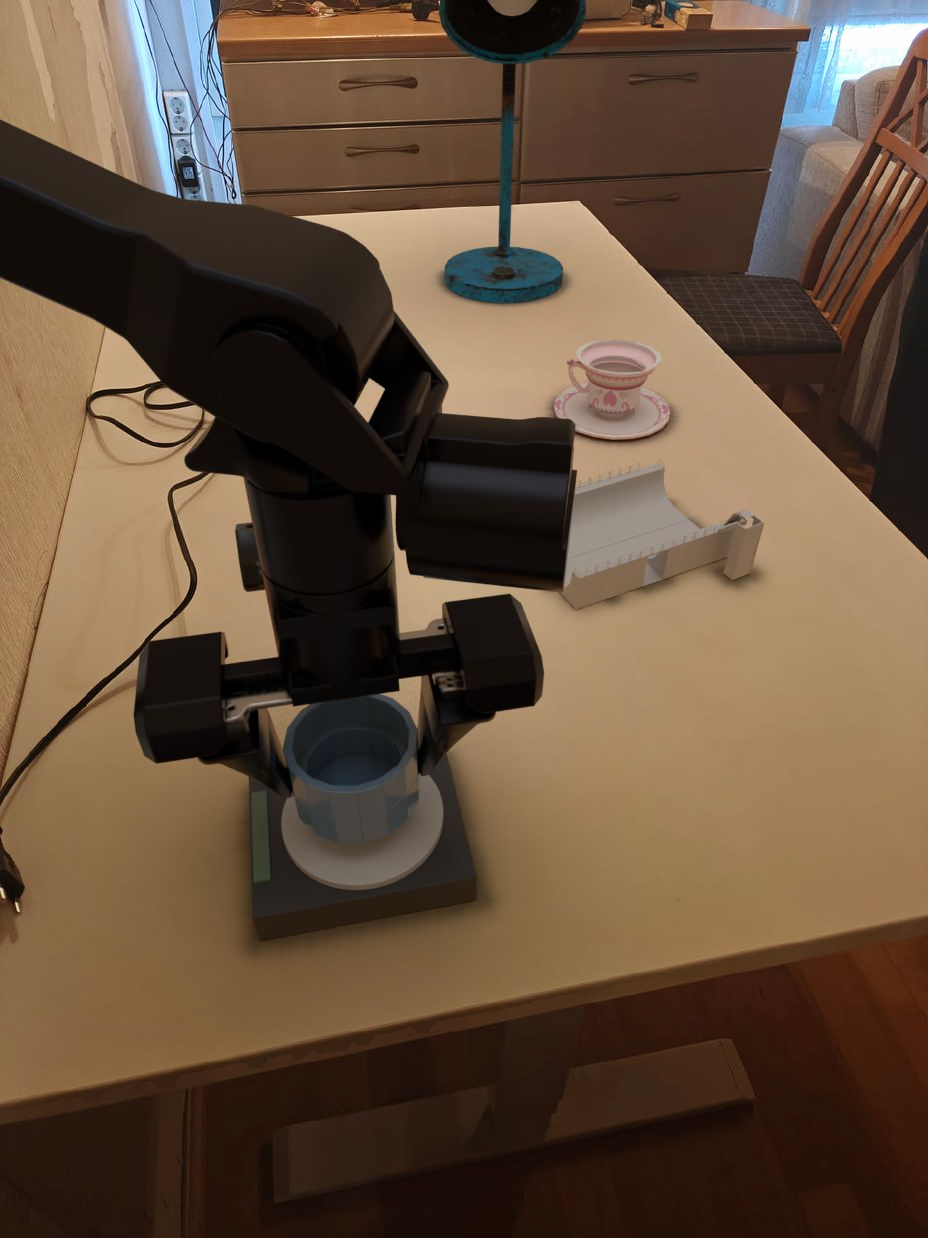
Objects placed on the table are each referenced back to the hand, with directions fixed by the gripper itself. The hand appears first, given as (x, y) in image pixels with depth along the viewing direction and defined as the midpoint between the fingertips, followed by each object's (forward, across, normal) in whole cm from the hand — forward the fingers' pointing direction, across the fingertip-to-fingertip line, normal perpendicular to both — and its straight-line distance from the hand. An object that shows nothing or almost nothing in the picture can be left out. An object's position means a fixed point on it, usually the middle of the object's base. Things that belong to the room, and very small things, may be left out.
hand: (356, 780), depth 48 cm
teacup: (+6, -31, -47) cm, 57 cm away
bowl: (+2, 0, 0) cm, 2 cm away
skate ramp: (+6, -25, -23) cm, 34 cm away
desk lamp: (+6, -28, -83) cm, 88 cm away
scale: (+6, 0, 0) cm, 6 cm away
